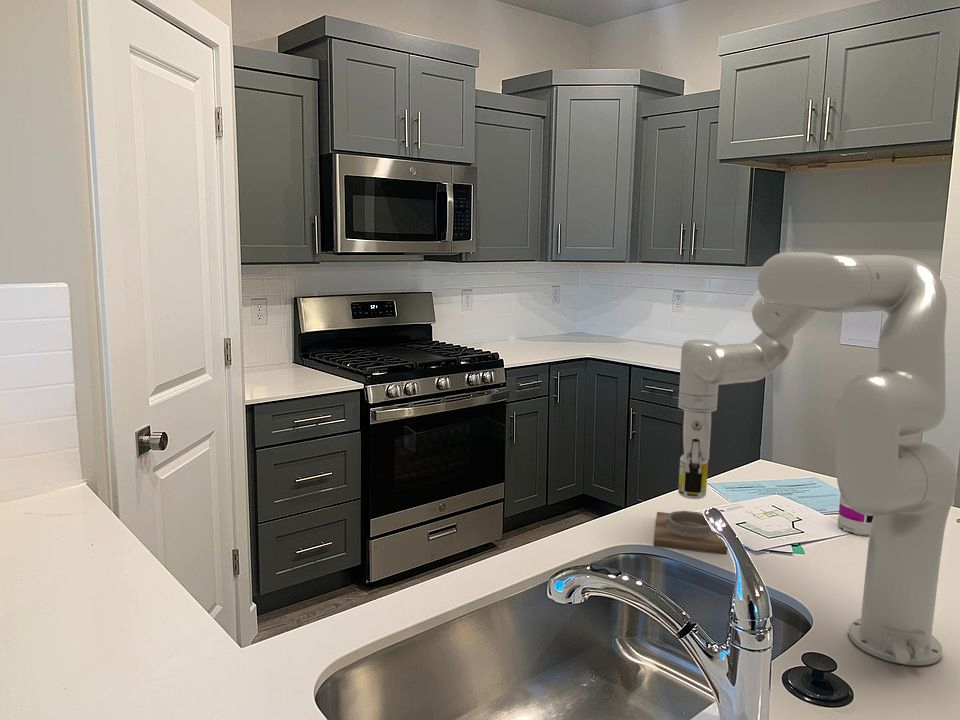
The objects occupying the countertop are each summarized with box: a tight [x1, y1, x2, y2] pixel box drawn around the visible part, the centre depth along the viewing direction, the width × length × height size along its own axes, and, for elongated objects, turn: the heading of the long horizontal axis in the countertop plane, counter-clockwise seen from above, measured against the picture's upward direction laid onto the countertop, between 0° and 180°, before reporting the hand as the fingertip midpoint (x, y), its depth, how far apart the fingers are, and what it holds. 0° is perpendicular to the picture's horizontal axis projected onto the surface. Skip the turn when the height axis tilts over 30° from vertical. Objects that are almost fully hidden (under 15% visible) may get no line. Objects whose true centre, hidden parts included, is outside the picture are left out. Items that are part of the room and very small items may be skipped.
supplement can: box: [837, 493, 873, 537], centre depth 162 cm, size 8×8×15 cm
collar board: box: [653, 510, 728, 555], centre depth 158 cm, size 16×14×4 cm
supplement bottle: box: [677, 454, 709, 500], centre depth 156 cm, size 6×6×10 cm
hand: (692, 486), depth 157 cm, fingers closed on supplement bottle, 5 cm apart
